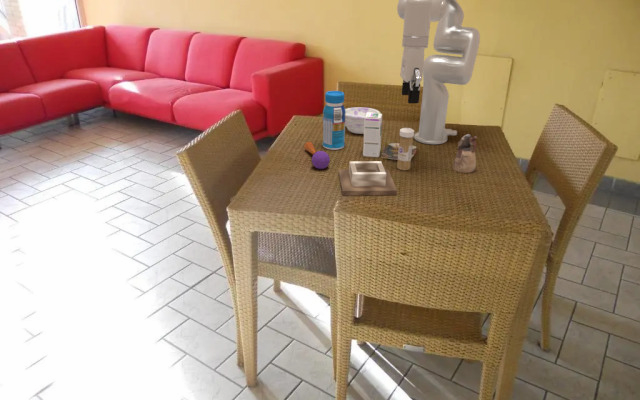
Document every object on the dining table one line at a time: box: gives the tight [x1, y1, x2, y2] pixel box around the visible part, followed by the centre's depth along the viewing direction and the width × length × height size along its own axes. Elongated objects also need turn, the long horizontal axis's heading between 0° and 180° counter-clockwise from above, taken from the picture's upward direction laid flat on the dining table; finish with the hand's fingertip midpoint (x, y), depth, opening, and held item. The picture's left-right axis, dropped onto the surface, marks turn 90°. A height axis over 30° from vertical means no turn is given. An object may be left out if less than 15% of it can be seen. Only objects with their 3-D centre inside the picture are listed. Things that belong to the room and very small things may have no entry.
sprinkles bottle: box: [396, 127, 415, 171], centre depth 158 cm, size 5×5×14 cm
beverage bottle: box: [322, 90, 346, 151], centre depth 174 cm, size 8×8×20 cm
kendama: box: [303, 141, 331, 170], centre depth 166 cm, size 6×6×20 cm
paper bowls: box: [345, 106, 381, 135], centre depth 194 cm, size 15×15×8 cm
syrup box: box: [362, 112, 383, 158], centre depth 169 cm, size 6×6×14 cm
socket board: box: [338, 160, 398, 197], centre depth 149 cm, size 16×16×6 cm
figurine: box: [452, 133, 478, 174], centre depth 158 cm, size 7×7×12 cm
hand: (409, 98), depth 150 cm, fingers open, 9 cm apart
